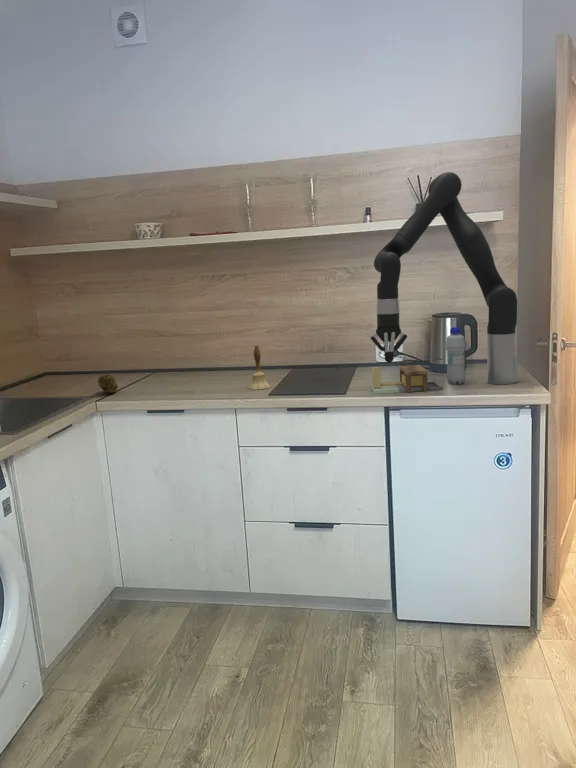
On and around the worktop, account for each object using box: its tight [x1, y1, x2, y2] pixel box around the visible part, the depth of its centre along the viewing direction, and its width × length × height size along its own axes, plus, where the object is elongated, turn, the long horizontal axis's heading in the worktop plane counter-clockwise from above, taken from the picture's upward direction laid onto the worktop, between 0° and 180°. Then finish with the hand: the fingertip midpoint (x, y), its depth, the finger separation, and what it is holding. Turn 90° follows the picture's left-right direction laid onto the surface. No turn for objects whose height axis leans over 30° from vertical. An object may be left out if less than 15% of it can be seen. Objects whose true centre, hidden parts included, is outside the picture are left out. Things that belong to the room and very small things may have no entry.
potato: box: [97, 374, 119, 394], centre depth 246 cm, size 8×13×8 cm, turn 175°
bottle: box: [445, 326, 466, 386], centre depth 221 cm, size 7×7×20 cm
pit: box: [428, 381, 444, 392], centre depth 219 cm, size 5×11×1 cm, turn 2°
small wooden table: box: [399, 364, 429, 394], centre depth 219 cm, size 7×12×7 cm, turn 1°
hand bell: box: [248, 345, 271, 391], centre depth 238 cm, size 8×8×16 cm
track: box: [371, 385, 423, 395], centre depth 219 cm, size 18×8×1 cm, turn 92°
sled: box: [371, 366, 423, 388], centre depth 218 cm, size 18×5×7 cm, turn 91°
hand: (389, 362), depth 217 cm, fingers closed
